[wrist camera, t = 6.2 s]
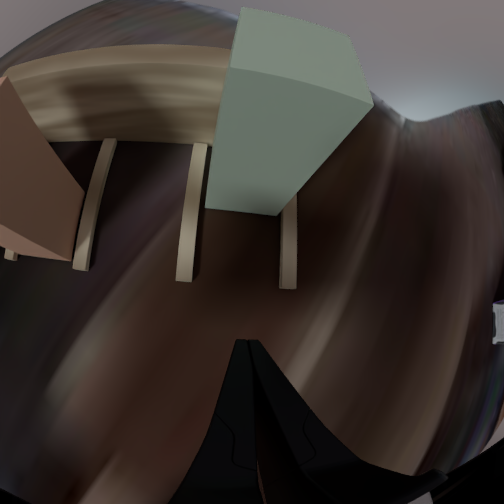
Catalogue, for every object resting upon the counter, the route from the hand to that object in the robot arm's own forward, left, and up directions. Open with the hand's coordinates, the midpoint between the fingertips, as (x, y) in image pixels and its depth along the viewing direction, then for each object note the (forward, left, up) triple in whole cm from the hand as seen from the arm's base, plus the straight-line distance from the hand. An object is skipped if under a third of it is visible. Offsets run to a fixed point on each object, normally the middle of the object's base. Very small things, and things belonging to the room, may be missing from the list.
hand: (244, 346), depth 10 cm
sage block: (+10, -4, -8) cm, 13 cm away
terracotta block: (+10, +10, -8) cm, 16 cm away
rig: (+11, +3, -8) cm, 13 cm away
